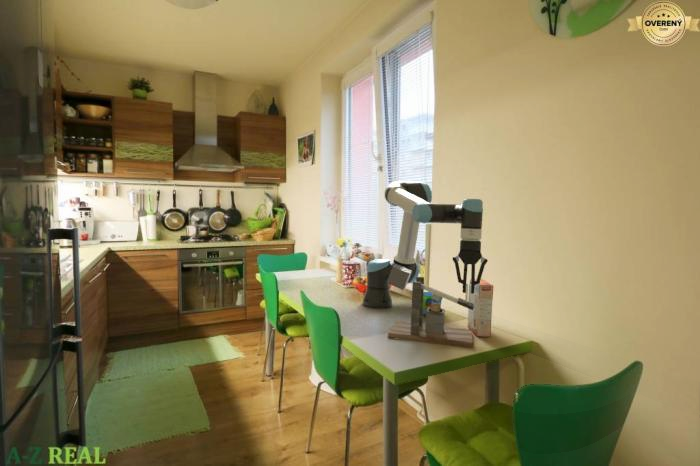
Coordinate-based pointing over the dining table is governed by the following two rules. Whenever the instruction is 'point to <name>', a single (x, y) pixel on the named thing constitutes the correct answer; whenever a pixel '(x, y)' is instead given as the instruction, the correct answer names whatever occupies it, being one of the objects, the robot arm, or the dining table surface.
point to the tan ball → (435, 307)
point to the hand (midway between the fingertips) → (467, 301)
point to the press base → (432, 338)
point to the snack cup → (429, 301)
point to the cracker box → (481, 309)
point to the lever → (402, 275)
